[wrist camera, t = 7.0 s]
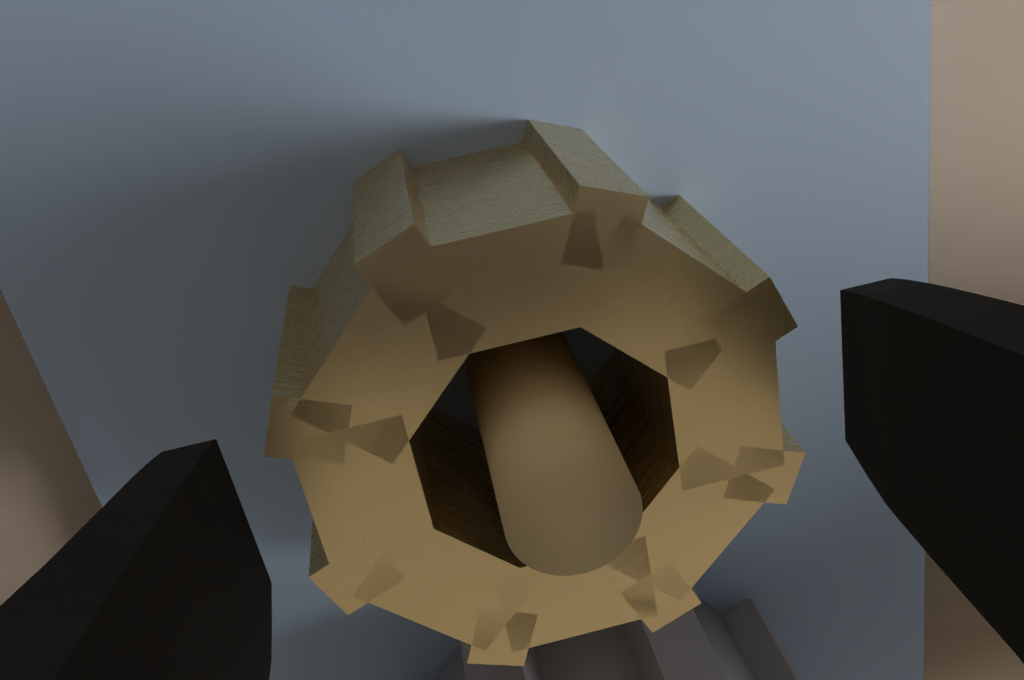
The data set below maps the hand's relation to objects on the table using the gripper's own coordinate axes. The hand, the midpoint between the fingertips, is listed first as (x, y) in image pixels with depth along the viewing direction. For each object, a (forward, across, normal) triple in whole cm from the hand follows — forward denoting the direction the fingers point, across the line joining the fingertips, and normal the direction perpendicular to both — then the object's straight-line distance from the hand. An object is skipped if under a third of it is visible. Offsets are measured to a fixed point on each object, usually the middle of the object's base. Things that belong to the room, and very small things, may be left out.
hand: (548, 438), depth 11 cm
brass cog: (+2, 0, 0) cm, 2 cm away
